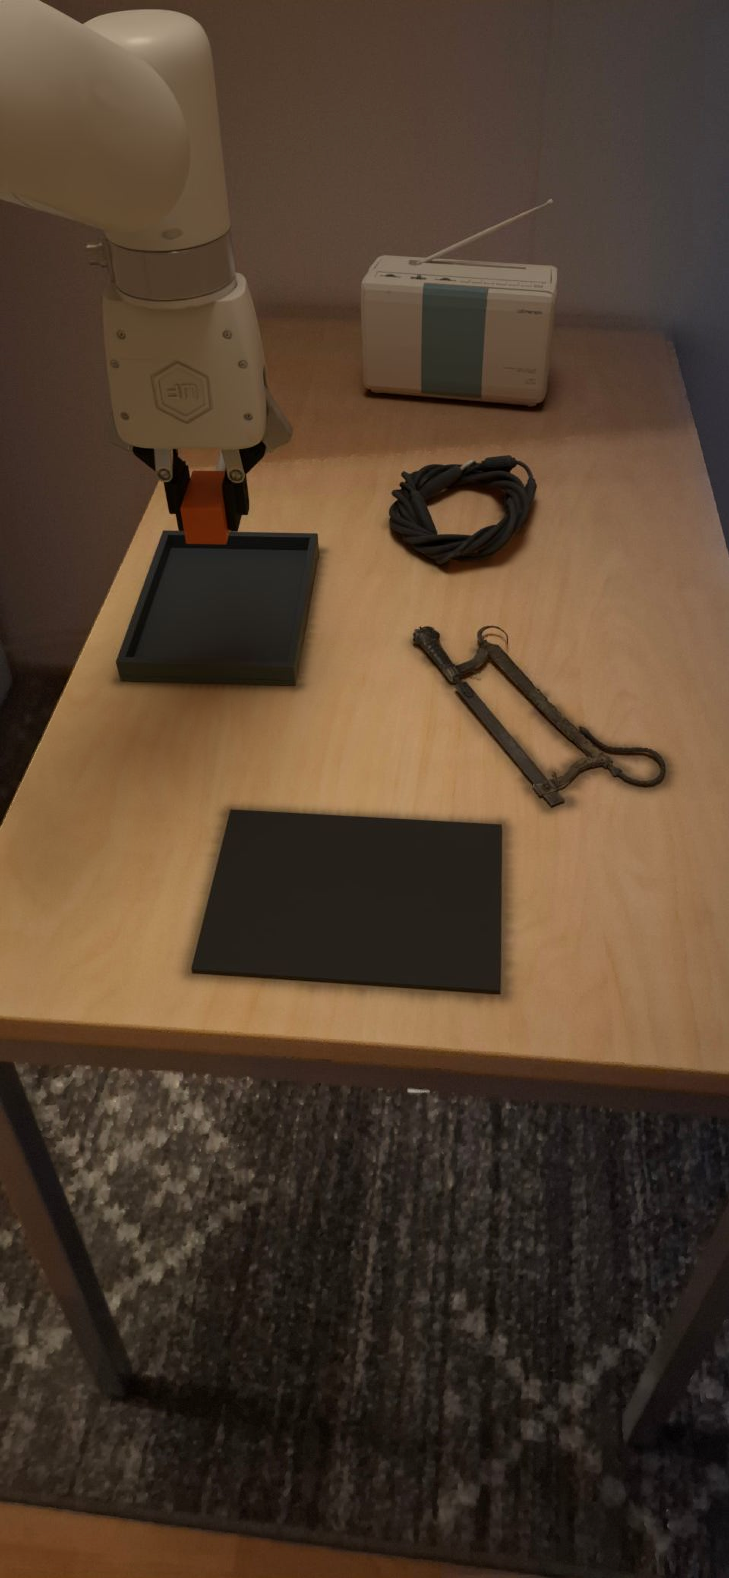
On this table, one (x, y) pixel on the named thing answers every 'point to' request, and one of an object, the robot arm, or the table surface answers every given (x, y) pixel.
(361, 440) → the table surface
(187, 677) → the tray
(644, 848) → the table surface
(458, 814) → the table surface
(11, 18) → the robot arm
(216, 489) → the screwdriver
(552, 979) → the table surface
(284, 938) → the mat
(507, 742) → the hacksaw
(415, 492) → the cable
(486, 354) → the radio
